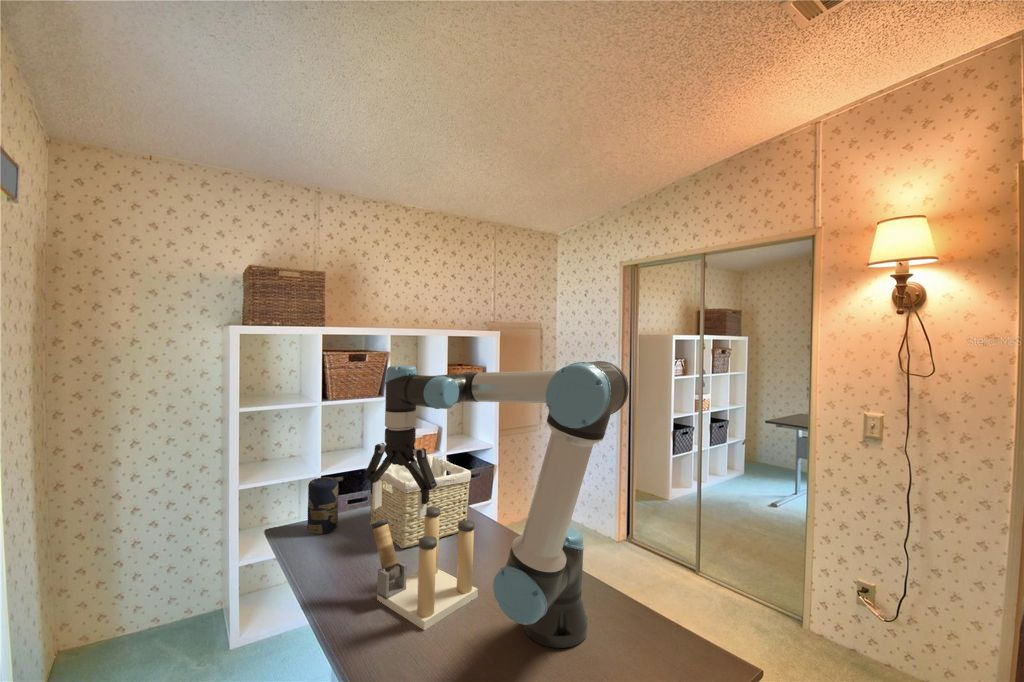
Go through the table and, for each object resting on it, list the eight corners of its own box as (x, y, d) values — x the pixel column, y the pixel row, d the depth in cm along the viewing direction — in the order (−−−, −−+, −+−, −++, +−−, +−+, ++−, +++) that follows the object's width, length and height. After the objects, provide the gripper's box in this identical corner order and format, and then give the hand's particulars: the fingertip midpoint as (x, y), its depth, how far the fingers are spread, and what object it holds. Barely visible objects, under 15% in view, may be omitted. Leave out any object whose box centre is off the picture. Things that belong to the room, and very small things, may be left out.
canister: (330, 536, 150) (331, 482, 150) (301, 535, 150) (303, 481, 150) (341, 524, 160) (343, 473, 159) (314, 523, 160) (316, 472, 160)
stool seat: (477, 596, 119) (480, 523, 118) (422, 631, 104) (424, 548, 104) (431, 572, 130) (433, 505, 130) (375, 601, 115) (377, 525, 115)
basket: (431, 507, 178) (432, 451, 178) (473, 530, 159) (474, 468, 158) (364, 525, 160) (366, 463, 160) (402, 553, 140) (404, 483, 140)
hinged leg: (395, 577, 119) (404, 575, 116) (381, 583, 115) (391, 581, 113) (381, 520, 123) (390, 517, 120) (367, 525, 119) (376, 522, 117)
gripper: (451, 429, 113) (449, 514, 113) (370, 420, 123) (369, 499, 123) (435, 435, 106) (433, 525, 106) (350, 425, 116) (349, 508, 116)
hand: (398, 511), depth 115 cm, fingers open, 13 cm apart
